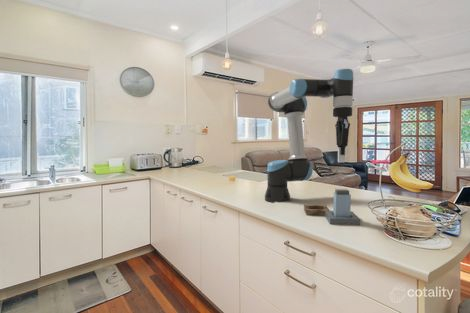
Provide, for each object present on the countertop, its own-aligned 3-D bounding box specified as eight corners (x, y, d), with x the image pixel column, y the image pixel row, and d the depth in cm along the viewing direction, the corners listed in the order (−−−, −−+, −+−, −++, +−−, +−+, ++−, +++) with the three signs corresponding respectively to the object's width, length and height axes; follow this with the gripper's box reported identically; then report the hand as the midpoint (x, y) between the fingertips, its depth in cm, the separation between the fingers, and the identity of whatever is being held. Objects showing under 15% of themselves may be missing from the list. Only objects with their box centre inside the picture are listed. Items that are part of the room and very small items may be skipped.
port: (330, 225, 103) (330, 217, 103) (325, 217, 113) (325, 210, 113) (360, 226, 101) (360, 218, 101) (352, 217, 111) (352, 210, 111)
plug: (335, 221, 106) (336, 191, 104) (333, 218, 110) (333, 189, 108) (350, 222, 105) (350, 191, 104) (347, 219, 109) (347, 189, 108)
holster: (306, 216, 115) (306, 210, 115) (304, 210, 123) (304, 204, 123) (329, 216, 114) (329, 210, 113) (325, 211, 122) (325, 205, 122)
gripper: (357, 105, 96) (355, 164, 99) (347, 108, 109) (345, 160, 112) (337, 106, 98) (336, 164, 100) (329, 108, 110) (328, 160, 113)
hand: (341, 162), depth 106 cm, fingers closed
